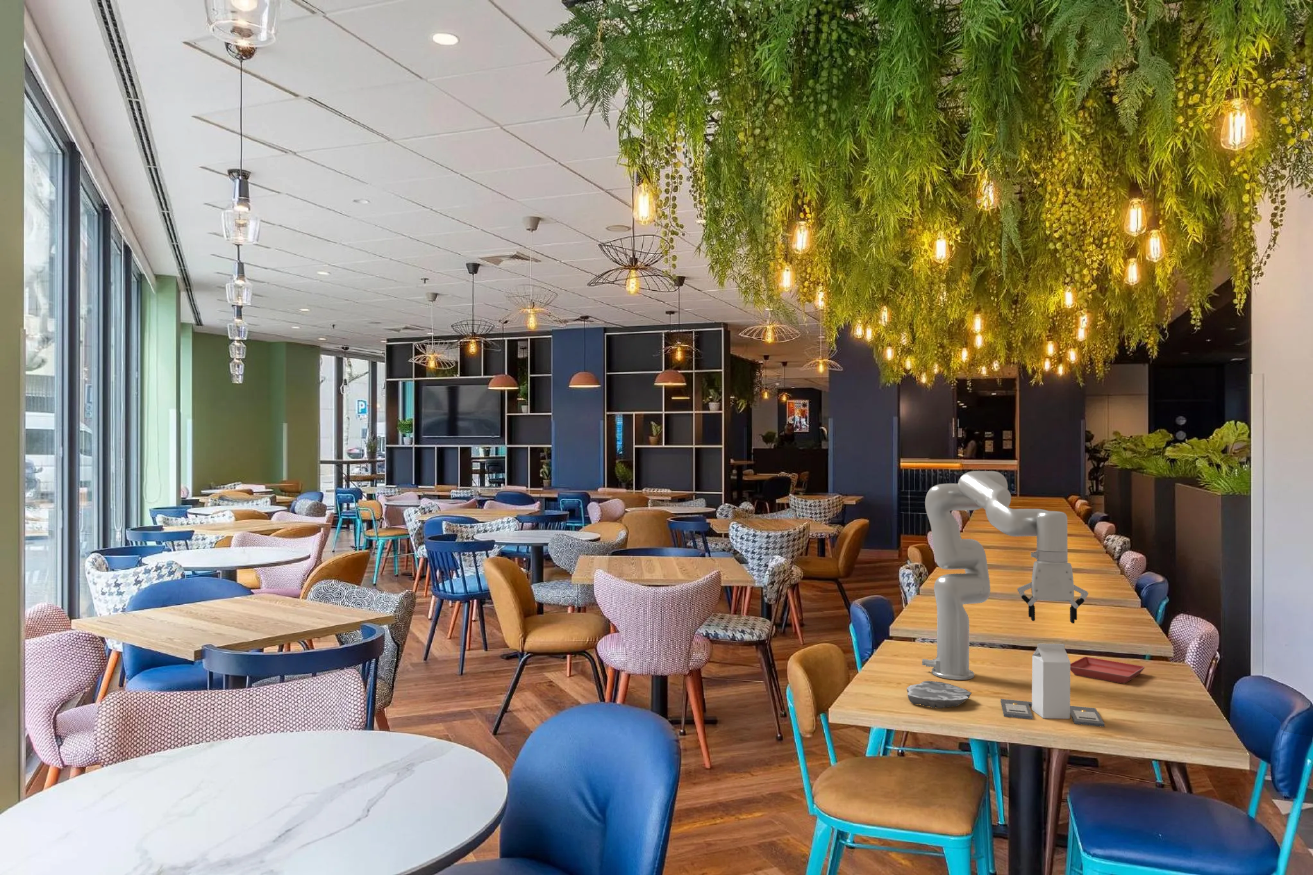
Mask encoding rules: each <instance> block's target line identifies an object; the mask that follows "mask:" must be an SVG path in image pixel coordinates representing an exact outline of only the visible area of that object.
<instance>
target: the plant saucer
mask: <svg viewBox="0 0 1313 875" xmlns="http://www.w3.org/2000/svg"><path fill="white" fill-rule="evenodd" d="M1145 668H1146V667H1145V666H1143V665H1137V664H1131V663H1126V662H1120V661H1115V660H1109V659H1102V658H1096V657H1090V656H1089V657H1088V656H1084V657H1081V658H1079V659H1077V660H1075V661H1073V662H1070V672H1071V673H1073V675H1074V676H1078V677H1079V676H1080V677H1085V678H1091V679H1094V680H1095V679H1096V680H1101V681H1107V682H1111V681H1112V683H1117V684H1122V683H1125V684H1126V683H1128V682H1130V680H1132V678H1133V679H1134V678H1136V677H1138V676H1139V675H1140V674H1141V673H1142V672H1143V670H1144V669H1145ZM1137 675H1138V676H1137Z"/></svg>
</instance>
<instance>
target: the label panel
mask: <svg viewBox="0 0 1313 875" xmlns="http://www.w3.org/2000/svg"><path fill="white" fill-rule="evenodd" d="M1000 704H1001V710H1002V715H1003V717H1006V718H1016V719H1025V720H1034V716H1033V714H1032V711H1031V710H1032V709H1031V708H1032V701H1027V700H1018V699H1017V700H1015V699H1009V698H1008V699H1007V698H1005V699H1004V698H1000ZM1029 706H1030V707H1029ZM1070 719H1072V721H1073V723H1074V725H1081V724H1082V725H1083V726H1090V727H1091V726H1092V727H1100V726H1101V727H1102V728H1105V726H1106V725H1105V722H1104V721H1103V718H1102V717H1101V715H1100V713H1099V712H1098V710H1097V709H1096V708H1095V707H1089V706H1078V705H1077V706H1076V705H1070ZM1082 725H1081V726H1082Z"/></svg>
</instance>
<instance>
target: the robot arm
mask: <svg viewBox="0 0 1313 875" xmlns="http://www.w3.org/2000/svg"><path fill="white" fill-rule="evenodd" d="M957 482H958V483H939V484H936V485H934V486H931V487H930V488H929V490H928V492H927V493H926V496H925V501H924V505H925V512H926V514H927V515H926V516H927V518H928V520H929V524H930V529H931V538H932V543H933V544H932V545H933V553H934V557H935V558H934V559H935V562H936V565H937V566H938V567H939V568H940V569H943V570H964V573H962V572H961V573H947V574H942V575H941V576H939V577H938V578H936V579H935V582H934V586H933V591H934V597H935V603H936V618H937V620H936V625H937V626H936V633H937V634H936V656H935V658H932V659H925V658H922V659H921V665H922V666H925V667H927V668H930V667H932V668H931V673H932V675H933V676H936V677H938V678H943V679H945V680H946V679H947V680H956V681H961V680H962V681H963V680H965V681H966V680H971V679H973V678H974V677H975V672H974V671H973V670H970V619H969V618H970V617H969V614H968V612H967V611H966V609H965V608H964V605H970V604H971V605H972V604H981V603H985V602H986V601H987V600H989V597H990V595H991V582H990V574H989V567H988V560H987V555H986V551H985V548H984V546H983V545H982V543H980V542H979V541H978V540H976V539H973V538H962V537H961V533H960V532H961V531H960V525H959V523H958V521H957V519H956V518H955V516H954V515H953V514H952V512H951V511H976V510H980V509H984V510H985V515H986V519H987V520H988V522H989V524H990V525H991V526H993V527H994V528H996V529H997V530H998V531H1000V532H1001V533H1002V534H1005V535H1007V536H1010V537H1036V550H1035V551H1034V552H1030V557H1031V558H1034V559H1036V560H1034V562H1033V565H1032V566H1033V568H1032V574H1031V582H1029V583H1026V584H1024V585H1022V586H1019V587H1017V592H1018V594H1019V596H1020V597H1021V599H1022V601H1024V602H1025V603H1026V604H1027V605H1028V607H1027V608H1028V611H1027V612H1028V618H1030V620H1031V622H1035V621H1036V606H1035V603H1036V602H1038V601H1053V602H1068V603H1069V604H1070V607H1069V622H1070V623H1071V624H1075V622H1076V621H1077V620H1078V608H1079V607H1080V606H1082V605H1083V603H1084V602H1085V601H1086V599H1087V597H1088V596H1089V592H1088V591H1087V590H1085V589H1083V588H1081V587H1079V586H1077V585H1076V584H1075V582H1074V573H1073V567H1072V563H1070V562H1069V560H1068V559H1069V558H1068V557H1069V556H1068V515H1067V514H1066V512H1063V511H1056V510H1046V509H1043V508H1042V509H1041V508H1012V507H1011V508H1010V507H1009V506H1010V505H1011V501H1012V495H1011V494H1012V493H1010V490H1009V489H1008V488H1009V487H1008V486H1009V485H1008V480H1007V479H1006V476H1004V475H1003V474H1002V473H1000V472H999V471H994V470H991V471H990V470H989V471H988V470H986V471H985V470H973V471H972V470H971V471H968V472H966V473H964V474H963V475H961V476H960V478H959V479H958V481H957ZM1028 590H1031V597H1030V598H1029V597H1028V596H1027V595H1026V593H1025V591H1028ZM1075 592H1077V593H1078V594H1080V596H1079V598H1077V599H1076V600H1074V598H1075Z"/></svg>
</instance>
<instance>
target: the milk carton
mask: <svg viewBox="0 0 1313 875" xmlns="http://www.w3.org/2000/svg"><path fill="white" fill-rule="evenodd" d="M1065 646H1066V645H1065V643H1037V647H1036V649H1035V650H1034V652H1033V654H1032V656H1031V657H1032V660H1031V661H1032V662H1031V667H1032V668H1031V670H1032V671H1031V674H1032V675H1031V680H1032V681H1031V702H1032V707H1031V710H1032V712H1034V713H1035V714H1037V715H1038V716H1040V717H1041V718H1042V719H1057V720H1058V719H1061V720H1063V719H1064V720H1065V719H1067V720H1069V719H1071V715H1070V706H1071V670H1070V664H1071V660H1070V658H1069V656H1068V653H1067V651H1066V649H1065Z"/></svg>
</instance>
